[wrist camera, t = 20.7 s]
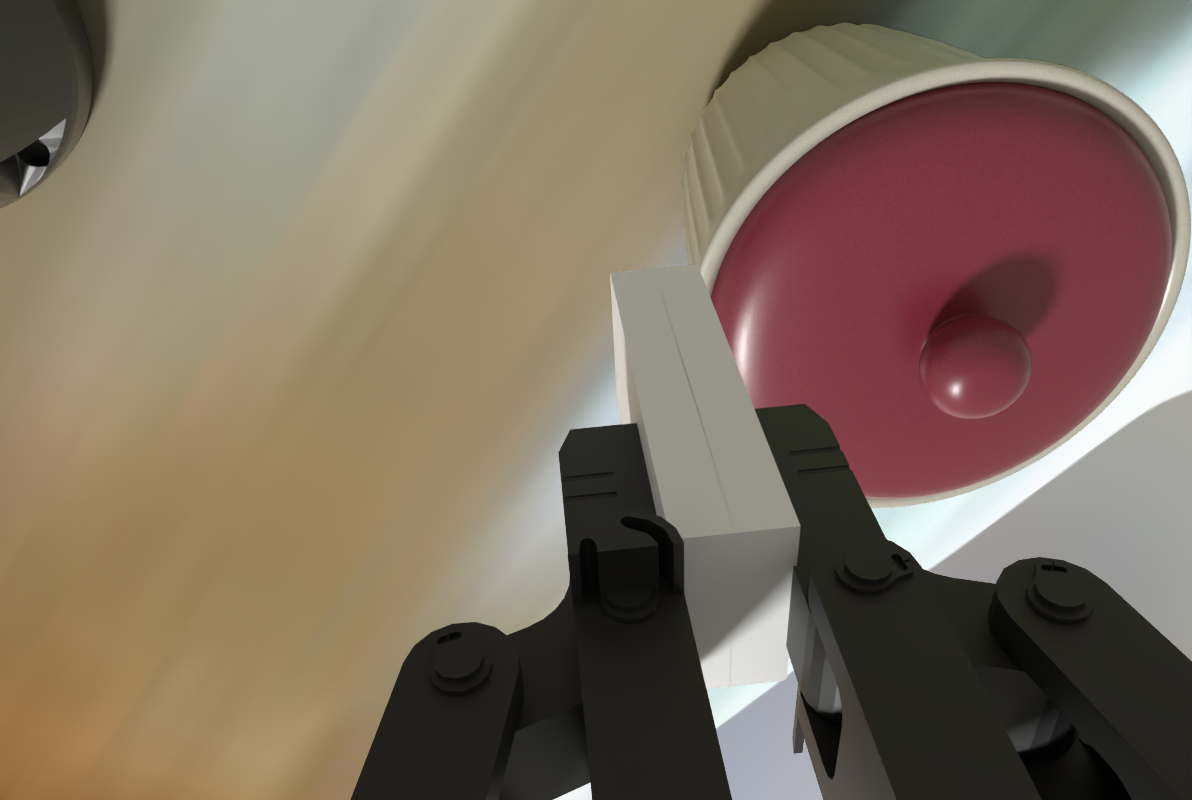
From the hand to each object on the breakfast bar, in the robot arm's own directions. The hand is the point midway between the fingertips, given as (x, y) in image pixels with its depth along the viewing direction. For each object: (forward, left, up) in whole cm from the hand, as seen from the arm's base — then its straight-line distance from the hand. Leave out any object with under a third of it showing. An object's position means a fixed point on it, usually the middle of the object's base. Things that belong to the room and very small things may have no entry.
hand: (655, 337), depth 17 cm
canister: (+12, -9, -31) cm, 34 cm away
